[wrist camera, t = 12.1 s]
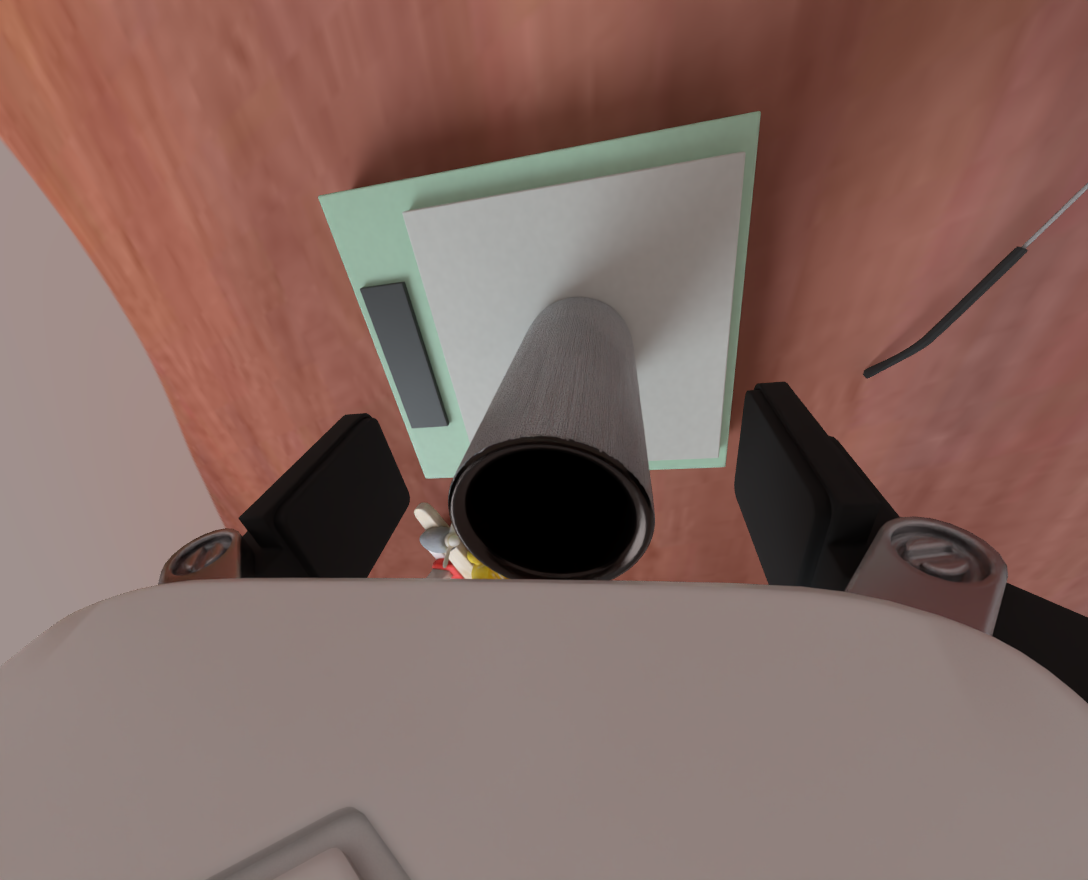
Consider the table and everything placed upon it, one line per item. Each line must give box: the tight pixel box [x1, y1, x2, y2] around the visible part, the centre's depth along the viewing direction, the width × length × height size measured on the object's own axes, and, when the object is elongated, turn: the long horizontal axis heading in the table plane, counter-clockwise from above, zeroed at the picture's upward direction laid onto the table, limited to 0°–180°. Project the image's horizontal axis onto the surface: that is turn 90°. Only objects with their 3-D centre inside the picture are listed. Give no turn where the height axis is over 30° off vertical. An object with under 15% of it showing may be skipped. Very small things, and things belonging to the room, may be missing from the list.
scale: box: [318, 111, 761, 478], centre depth 19 cm, size 14×16×3 cm
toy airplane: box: [414, 503, 508, 579], centre depth 26 cm, size 9×9×6 cm
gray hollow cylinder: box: [448, 297, 655, 581], centre depth 13 cm, size 4×4×10 cm
